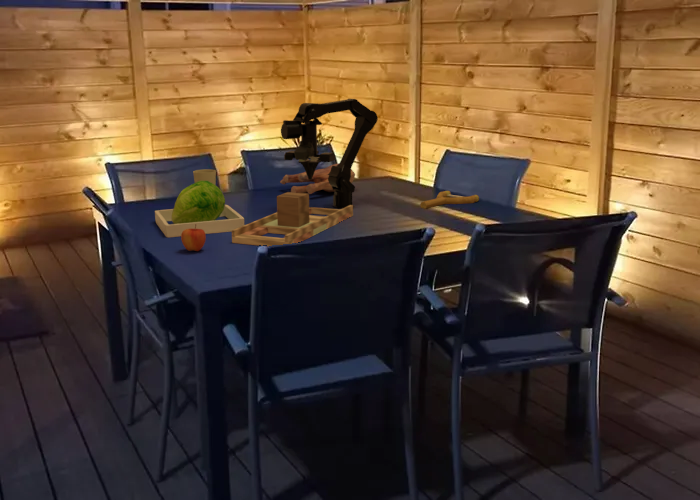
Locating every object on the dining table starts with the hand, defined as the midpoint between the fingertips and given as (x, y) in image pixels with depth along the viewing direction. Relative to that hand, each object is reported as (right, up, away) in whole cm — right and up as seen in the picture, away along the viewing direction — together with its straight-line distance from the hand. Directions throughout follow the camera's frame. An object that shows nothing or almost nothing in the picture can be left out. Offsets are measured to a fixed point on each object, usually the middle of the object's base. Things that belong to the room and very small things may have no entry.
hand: (310, 179), depth 290 cm
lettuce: (-38, -18, -20) cm, 46 cm away
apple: (-33, -27, -53) cm, 68 cm away
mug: (-44, -6, +27) cm, 52 cm away
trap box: (-3, -19, -25) cm, 32 cm away
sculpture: (+3, -2, +43) cm, 43 cm away
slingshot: (+52, -9, +14) cm, 54 cm away
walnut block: (-4, -18, -28) cm, 33 cm away
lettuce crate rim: (-38, -18, -20) cm, 46 cm away
